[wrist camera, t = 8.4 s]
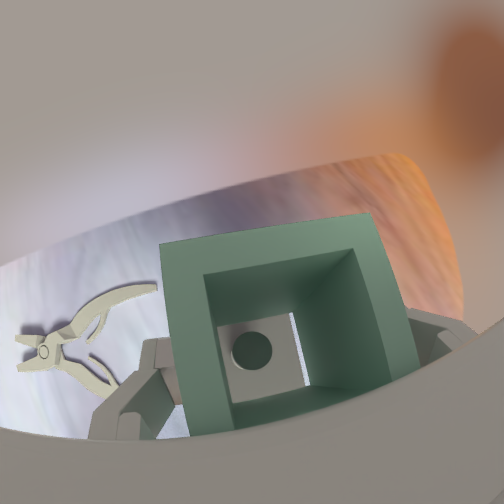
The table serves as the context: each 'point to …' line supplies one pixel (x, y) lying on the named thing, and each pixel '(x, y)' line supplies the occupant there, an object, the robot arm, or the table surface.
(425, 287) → the table surface
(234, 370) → the post stand
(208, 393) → the sleeve
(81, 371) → the pliers
